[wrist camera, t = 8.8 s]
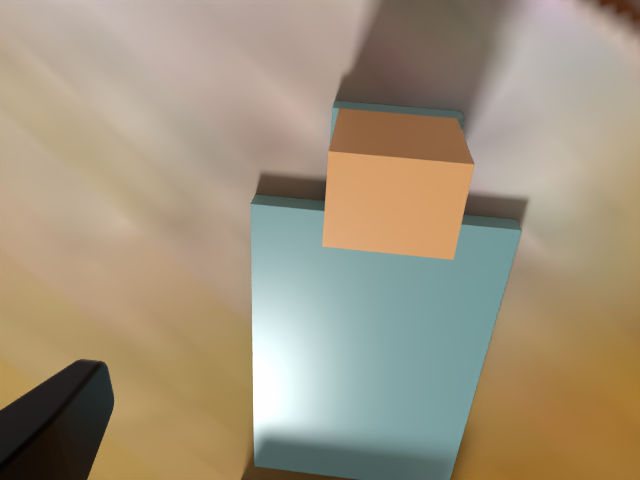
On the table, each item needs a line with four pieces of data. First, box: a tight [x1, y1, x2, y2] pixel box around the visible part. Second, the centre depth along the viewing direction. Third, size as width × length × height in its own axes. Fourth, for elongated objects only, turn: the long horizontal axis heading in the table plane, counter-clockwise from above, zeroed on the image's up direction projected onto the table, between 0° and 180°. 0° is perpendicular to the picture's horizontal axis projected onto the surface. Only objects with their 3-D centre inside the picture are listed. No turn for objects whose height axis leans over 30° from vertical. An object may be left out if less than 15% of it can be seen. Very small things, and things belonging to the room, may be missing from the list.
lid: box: [251, 101, 522, 480], centre depth 20 cm, size 9×18×4 cm, turn 177°
